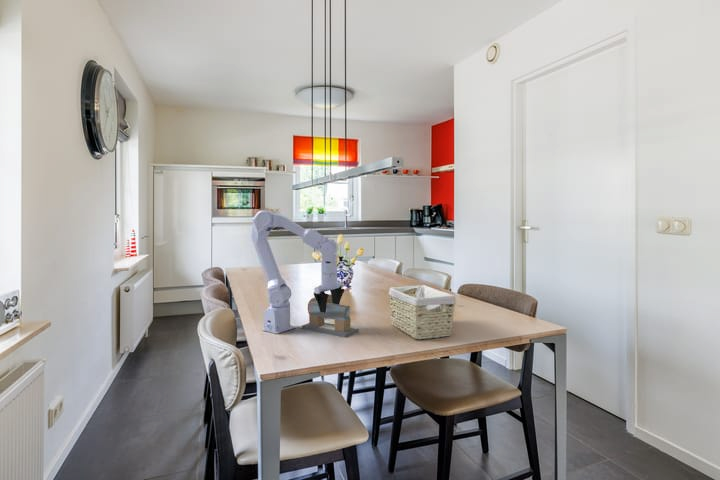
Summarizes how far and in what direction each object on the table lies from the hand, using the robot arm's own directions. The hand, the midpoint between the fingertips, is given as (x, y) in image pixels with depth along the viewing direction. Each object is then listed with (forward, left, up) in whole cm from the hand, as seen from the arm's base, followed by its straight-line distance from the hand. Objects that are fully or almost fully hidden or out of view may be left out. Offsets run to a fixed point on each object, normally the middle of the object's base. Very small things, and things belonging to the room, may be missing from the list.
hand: (329, 310), depth 145 cm
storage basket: (+18, -28, -8) cm, 34 cm away
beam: (0, 0, -2) cm, 2 cm away
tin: (+15, +16, -8) cm, 23 cm away
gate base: (0, 0, -7) cm, 7 cm away
